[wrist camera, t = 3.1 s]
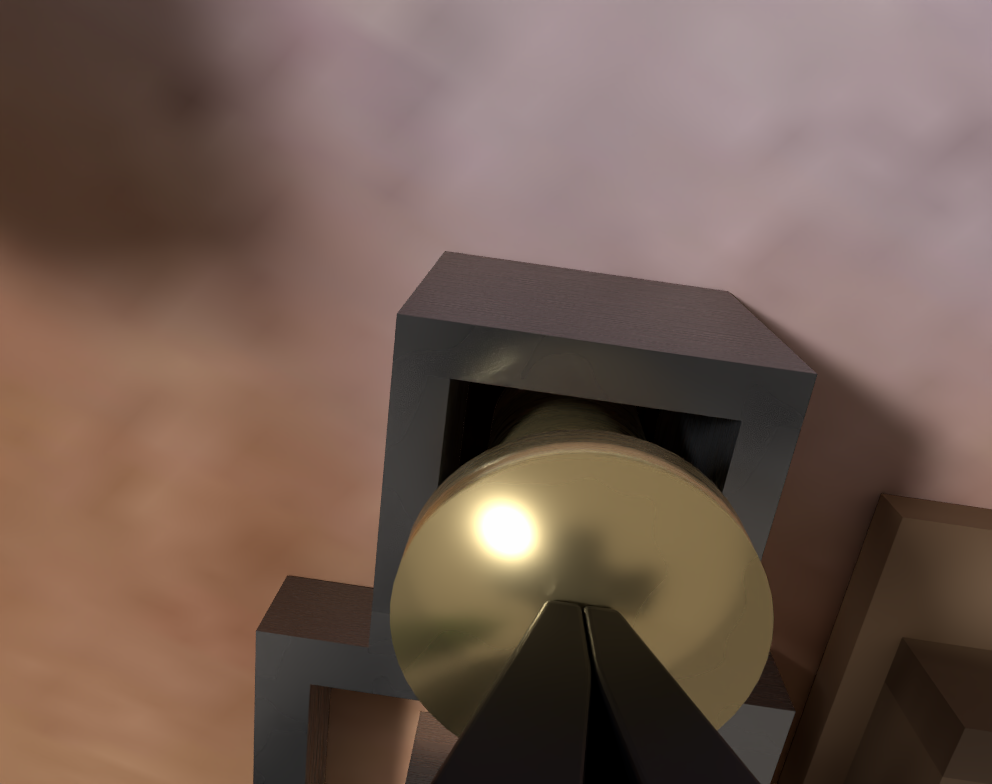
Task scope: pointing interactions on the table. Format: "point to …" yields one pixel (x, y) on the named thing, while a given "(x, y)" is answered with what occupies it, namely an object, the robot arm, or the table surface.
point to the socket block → (552, 369)
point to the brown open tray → (907, 657)
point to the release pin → (577, 558)
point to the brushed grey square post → (429, 749)
